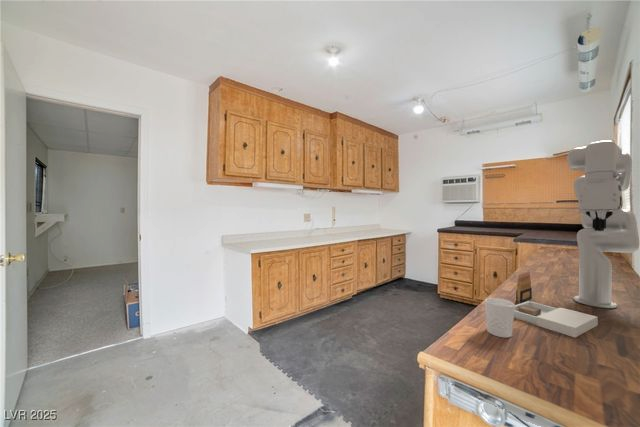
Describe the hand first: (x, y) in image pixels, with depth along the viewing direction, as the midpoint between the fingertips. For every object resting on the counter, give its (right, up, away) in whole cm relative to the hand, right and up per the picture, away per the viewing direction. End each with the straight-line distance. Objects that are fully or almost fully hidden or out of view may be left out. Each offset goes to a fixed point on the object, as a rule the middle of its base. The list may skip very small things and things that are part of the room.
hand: (599, 230), depth 94 cm
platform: (-13, -32, -2) cm, 35 cm away
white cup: (-40, -33, -8) cm, 52 cm away
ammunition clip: (-9, -32, +23) cm, 40 cm away
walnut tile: (-19, -30, +7) cm, 36 cm away
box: (-18, -32, +7) cm, 37 cm away
